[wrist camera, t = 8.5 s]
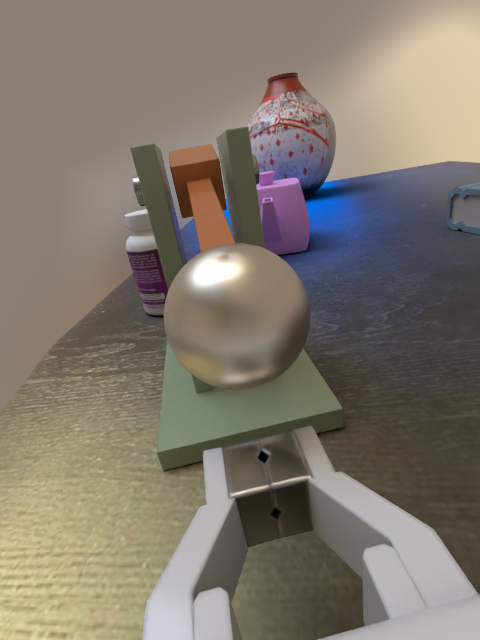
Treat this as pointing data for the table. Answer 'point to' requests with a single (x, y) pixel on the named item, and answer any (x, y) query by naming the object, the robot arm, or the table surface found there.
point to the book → (464, 208)
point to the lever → (229, 291)
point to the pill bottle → (146, 262)
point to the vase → (293, 134)
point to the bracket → (179, 384)
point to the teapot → (283, 214)
